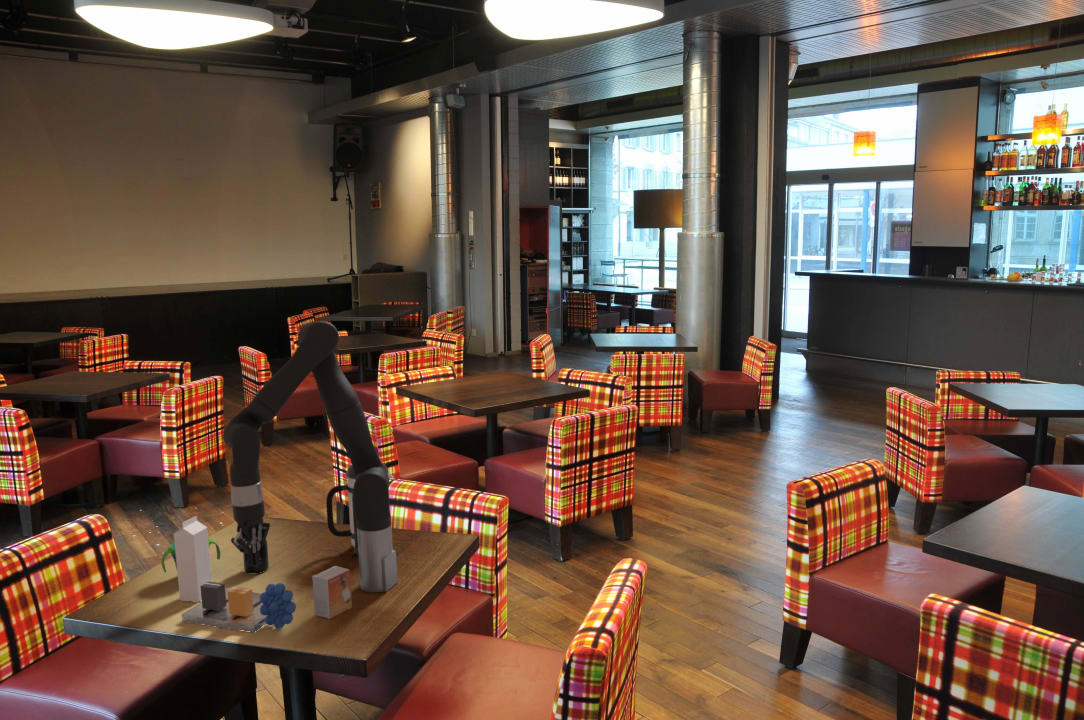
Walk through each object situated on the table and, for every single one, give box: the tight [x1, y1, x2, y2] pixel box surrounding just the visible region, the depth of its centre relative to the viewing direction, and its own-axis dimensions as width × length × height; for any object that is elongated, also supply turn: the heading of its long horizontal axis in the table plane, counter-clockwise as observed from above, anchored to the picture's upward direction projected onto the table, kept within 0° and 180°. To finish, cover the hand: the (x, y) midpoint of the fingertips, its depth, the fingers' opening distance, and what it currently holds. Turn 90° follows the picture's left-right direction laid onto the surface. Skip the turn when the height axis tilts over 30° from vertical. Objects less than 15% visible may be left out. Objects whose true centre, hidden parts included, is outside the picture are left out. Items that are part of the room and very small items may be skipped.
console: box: [181, 588, 295, 633], centre depth 213 cm, size 22×16×2 cm
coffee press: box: [325, 462, 394, 557], centre depth 252 cm, size 17×16×30 cm
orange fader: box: [228, 586, 254, 617], centre depth 207 cm, size 5×3×6 cm, turn 71°
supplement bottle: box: [242, 536, 270, 574], centre depth 240 cm, size 7×7×12 cm
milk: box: [173, 515, 213, 603], centre depth 222 cm, size 6×6×22 cm
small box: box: [311, 565, 353, 620], centre depth 212 cm, size 8×6×10 cm
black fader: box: [200, 581, 227, 611], centre depth 211 cm, size 5×3×6 cm, turn 71°
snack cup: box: [161, 538, 221, 573], centre depth 236 cm, size 16×10×10 cm
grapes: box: [260, 582, 297, 630], centre depth 204 cm, size 12×7×12 cm, turn 61°
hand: (254, 565), depth 211 cm, fingers closed
